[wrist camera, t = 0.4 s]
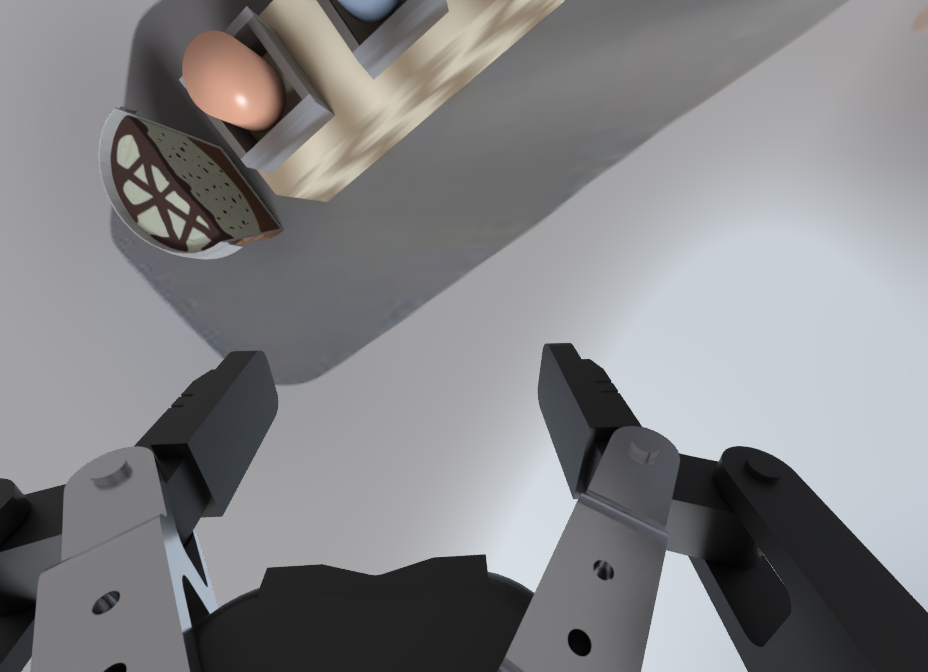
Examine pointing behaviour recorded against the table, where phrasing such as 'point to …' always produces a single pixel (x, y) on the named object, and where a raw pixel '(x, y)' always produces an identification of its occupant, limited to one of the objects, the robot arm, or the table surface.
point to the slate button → (369, 9)
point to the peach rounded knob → (233, 82)
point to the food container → (178, 189)
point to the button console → (363, 80)
